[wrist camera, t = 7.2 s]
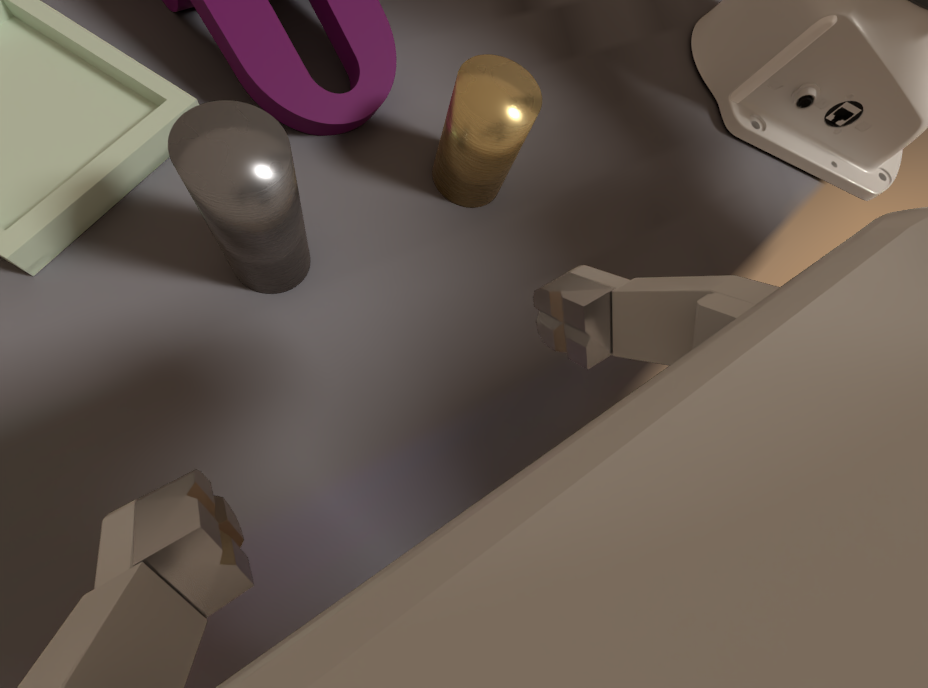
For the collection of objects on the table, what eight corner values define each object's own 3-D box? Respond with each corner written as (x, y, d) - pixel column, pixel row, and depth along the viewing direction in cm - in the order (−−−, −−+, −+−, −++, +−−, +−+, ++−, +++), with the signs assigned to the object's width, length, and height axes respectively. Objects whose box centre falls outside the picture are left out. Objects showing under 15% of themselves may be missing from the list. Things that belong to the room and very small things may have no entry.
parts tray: (206, 124, 26) (196, 99, 24) (33, 276, 21) (6, 258, 20) (20, 7, 25) (-3, -27, 23) (-200, 138, 21) (-249, 107, 19)
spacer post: (325, 254, 25) (313, 143, 17) (279, 307, 24) (240, 215, 15) (264, 214, 25) (222, 81, 16) (214, 265, 23) (140, 148, 15)
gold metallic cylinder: (510, 173, 30) (555, 88, 24) (480, 220, 28) (519, 141, 22) (453, 136, 30) (482, 40, 24) (419, 181, 28) (440, 90, 22)
